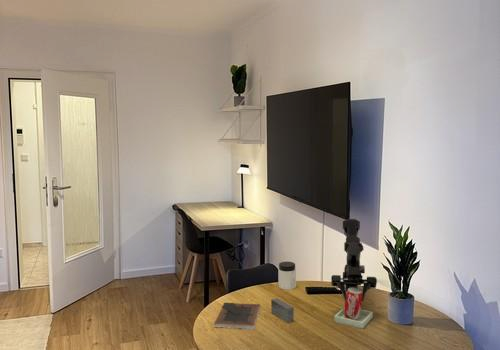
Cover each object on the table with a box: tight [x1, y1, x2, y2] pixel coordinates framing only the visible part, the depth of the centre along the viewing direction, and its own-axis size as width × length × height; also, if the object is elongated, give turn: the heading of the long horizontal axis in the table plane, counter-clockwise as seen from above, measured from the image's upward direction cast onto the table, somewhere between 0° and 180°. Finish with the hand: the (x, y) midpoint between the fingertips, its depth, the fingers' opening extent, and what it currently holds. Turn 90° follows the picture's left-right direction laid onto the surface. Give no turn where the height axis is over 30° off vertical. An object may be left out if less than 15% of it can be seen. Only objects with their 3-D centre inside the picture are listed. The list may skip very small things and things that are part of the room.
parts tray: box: [333, 307, 374, 330], centre depth 193 cm, size 12×12×2 cm
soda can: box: [343, 287, 363, 320], centre depth 193 cm, size 7×7×12 cm
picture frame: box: [213, 302, 261, 331], centre depth 198 cm, size 16×2×22 cm
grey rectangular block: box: [270, 297, 295, 323], centre depth 197 cm, size 3×12×6 cm, turn 32°
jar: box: [277, 261, 297, 291], centre depth 231 cm, size 9×8×12 cm
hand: (354, 300), depth 191 cm, fingers closed on soda can, 7 cm apart
